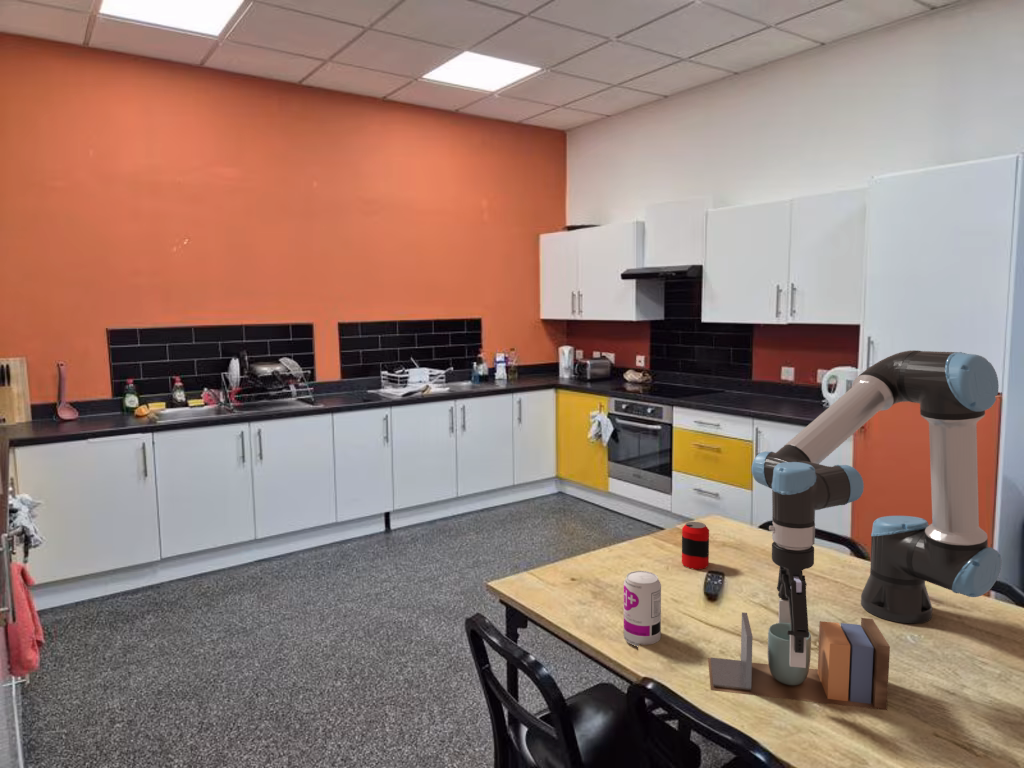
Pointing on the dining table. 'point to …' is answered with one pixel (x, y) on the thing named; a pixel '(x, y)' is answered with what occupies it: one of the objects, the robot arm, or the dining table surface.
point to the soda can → (695, 545)
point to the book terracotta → (833, 660)
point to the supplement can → (642, 608)
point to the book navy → (859, 663)
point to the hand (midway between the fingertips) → (791, 647)
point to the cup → (785, 656)
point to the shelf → (812, 685)
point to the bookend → (735, 663)
